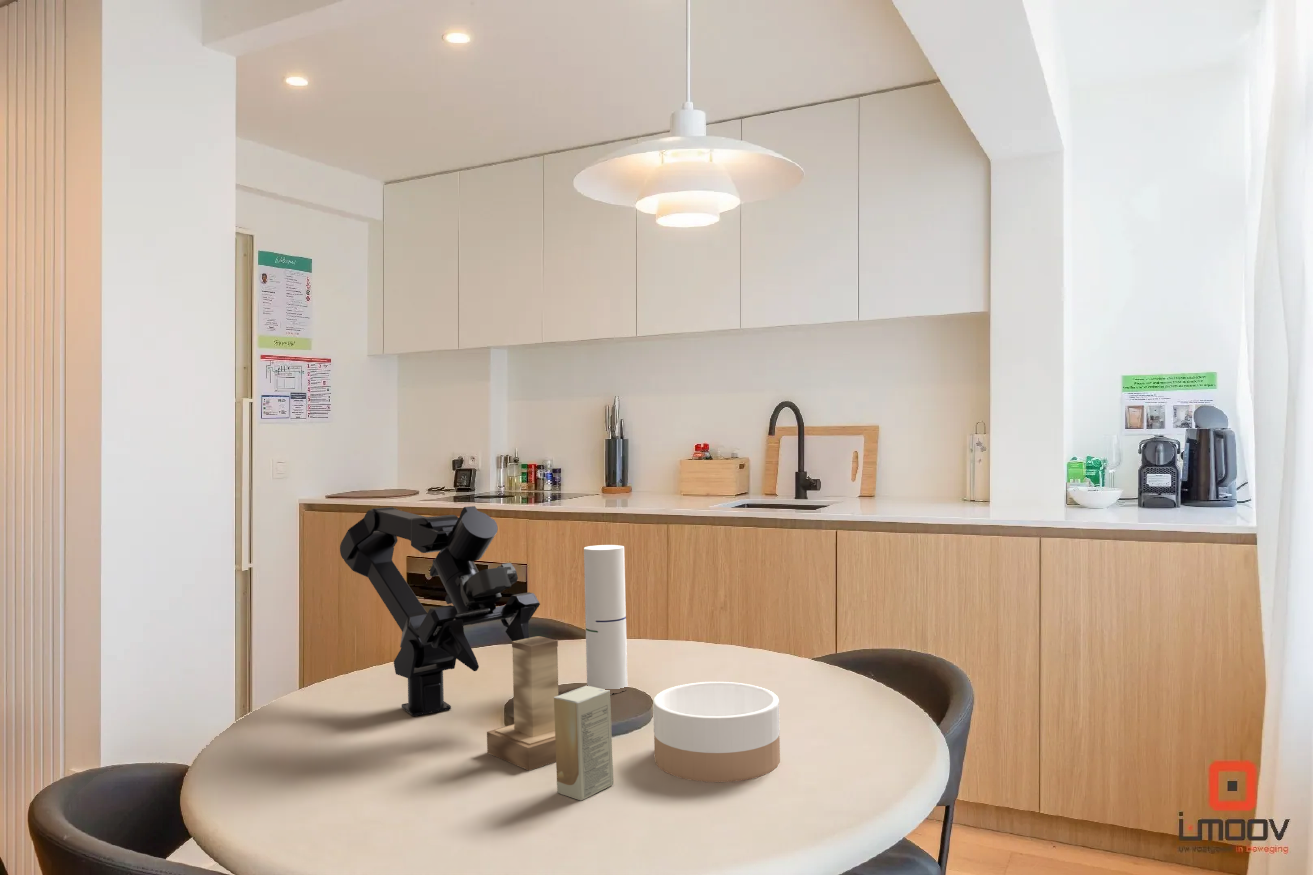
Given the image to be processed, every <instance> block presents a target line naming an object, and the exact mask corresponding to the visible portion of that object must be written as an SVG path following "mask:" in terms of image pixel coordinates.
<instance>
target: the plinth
mask: <svg viewBox="0 0 1313 875" xmlns="http://www.w3.org/2000/svg"><path fill="white" fill-rule="evenodd" d="M486 752H487V754H489V755H491V756H494V757H496V758H498V759H500V760H503V761H505V762H508V763H509V764H512V765H515V766H517V767H519V768H522V769H524V770H527V771H529V772H530V771H532V770H535V769H536V770H537V769H538V768H542V767H543V766H548V765H551V764H554V763H556V742H555V731H552V732H548V733H545V734H542V735H538V736H535V737H532V736H529V735H526V734H524V733H521V732H519V731H516V730H514V723H512V724H509V725H505V726H503V727H498V728H495V729H492V730H488V731H486Z"/></svg>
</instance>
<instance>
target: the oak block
mask: <svg viewBox="0 0 1313 875" xmlns="http://www.w3.org/2000/svg"><path fill="white" fill-rule="evenodd" d="M558 641H559V640H557V639H552V638H548V637H544V636H540V635H538V636H537V635H536V636H532V637H529V638H526V639H521V640H517V641H512V640H511V649H512V680H513V681H512V683H513V685H512V686H513V691H512V692H513V724H514V730H516V731H519V732H521V733H524V734H526V735H529V736H532V737H535V736H538V735H542V734H545V733H548V732H552V731H555V713H554V697H556V696H559V663H558V662H559V661H558V660H559V659H558V656H559V655H558V646H559V642H558Z"/></svg>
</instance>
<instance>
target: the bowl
mask: <svg viewBox="0 0 1313 875" xmlns="http://www.w3.org/2000/svg"><path fill="white" fill-rule="evenodd" d="M652 705H653V707H652V708H653V709H652V710H653V714H652V715H653V739H654V740H653V741H654V743H653V744H654V761H655V765H656V766H657V767H658V768H659V769H660V770H662V771H663V772H664V773H667V774H669V775H671V776H674V777H677V778H680V779H683V780H689V781H694V782H705V783H727V782H728V783H730V782H732V783H733V782H738V781H739V782H740V781H746V780H751V779H755V778H758V777H762V776H765V775H767V774H770V773H771V772H772V771H774V770H775V769H777V767H778V766H779V764H780V762H781V748H780V746H781V744H780V743H781V742H780V739H781V738H780V737H781V736H780V735H781V730H780V699H779V696H778V695H777V694H775V693H774V692H773V691H771V690H769V689H767V688H764V687H761V686H757V685H754V684H749V683H741V682H731V681H701V682H700V681H699V682H693V683H686V684H679V685H675V686H672V687H669V688H665V689H664V690H661V691H660V692H658V693H657V694H656V695H655V696H654V699H653V700H652Z"/></svg>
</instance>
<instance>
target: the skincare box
mask: <svg viewBox="0 0 1313 875" xmlns="http://www.w3.org/2000/svg"><path fill="white" fill-rule="evenodd" d="M611 710H612V709H611V694H610V690H605V689H601V688H596V687H591V686H587V685H584V686H581V687H578V688H576V689H572V690H570V691H567V692H564V693H562V694H558V696H556V697H554V713H555V742H556V762H555V763H556V764H555V765H556V767H555V768H556V791H557V794H561V795H562V796H566V797H569V798H572V799H576V800H578V801H583V800H585V799H587V798H589V797H591V796H593V795H596V794H597V793H599V792H601V791H603V790H605V789H606V788H609V787H610V786H613V785H614V765H613V764H614V763H613V762H614V761H613V742H612V741H613V740H612V712H611Z"/></svg>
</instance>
